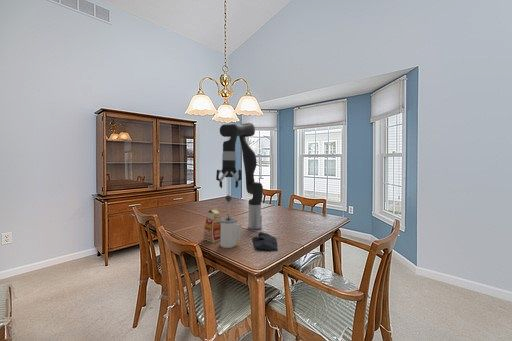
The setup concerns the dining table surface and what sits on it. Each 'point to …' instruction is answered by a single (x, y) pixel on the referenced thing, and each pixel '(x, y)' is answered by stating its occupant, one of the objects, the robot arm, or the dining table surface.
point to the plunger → (228, 198)
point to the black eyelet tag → (265, 242)
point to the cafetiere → (229, 232)
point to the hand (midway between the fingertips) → (228, 187)
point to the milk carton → (212, 226)
